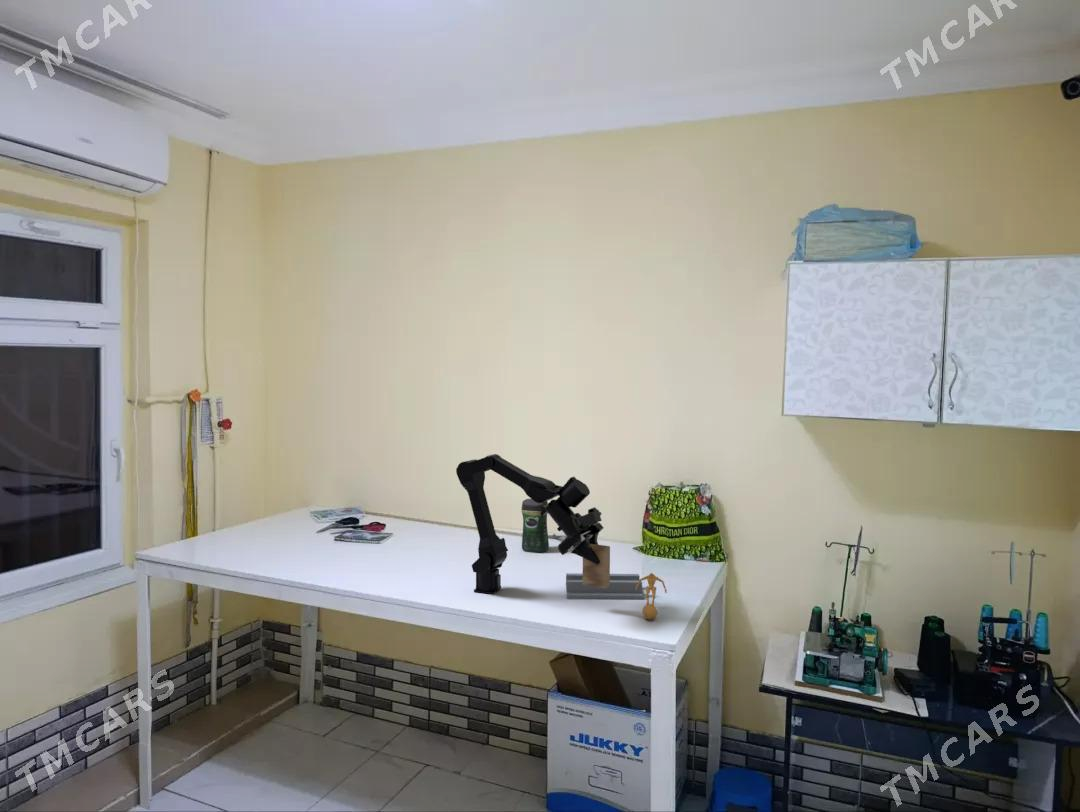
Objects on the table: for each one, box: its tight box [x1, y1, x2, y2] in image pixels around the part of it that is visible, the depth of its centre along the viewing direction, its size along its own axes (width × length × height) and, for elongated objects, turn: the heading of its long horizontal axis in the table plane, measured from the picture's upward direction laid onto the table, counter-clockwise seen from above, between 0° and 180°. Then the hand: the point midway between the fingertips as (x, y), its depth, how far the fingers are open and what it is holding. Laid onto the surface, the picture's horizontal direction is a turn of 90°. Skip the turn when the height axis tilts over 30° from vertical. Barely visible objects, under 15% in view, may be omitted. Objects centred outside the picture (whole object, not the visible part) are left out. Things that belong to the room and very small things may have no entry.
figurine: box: [635, 572, 668, 621], centre depth 191 cm, size 8×6×12 cm
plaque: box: [582, 544, 611, 588], centre depth 197 cm, size 7×2×11 cm, turn 62°
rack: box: [565, 572, 644, 600], centre depth 214 cm, size 22×14×4 cm, turn 89°
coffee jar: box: [520, 498, 550, 553], centre depth 260 cm, size 10×8×19 cm
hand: (600, 562), depth 197 cm, fingers closed on plaque, 2 cm apart
